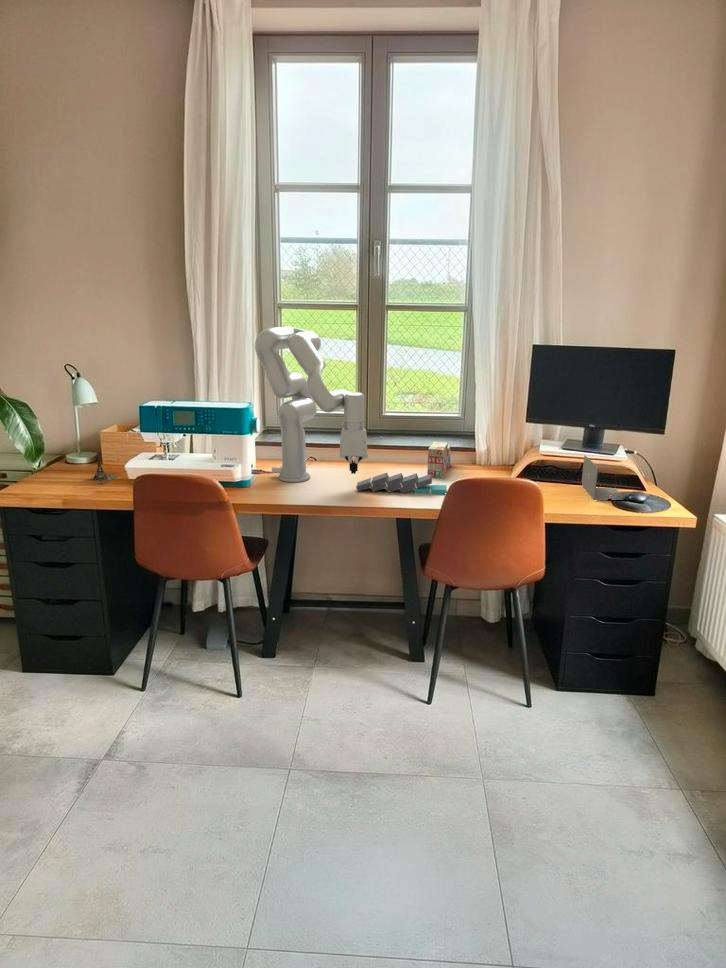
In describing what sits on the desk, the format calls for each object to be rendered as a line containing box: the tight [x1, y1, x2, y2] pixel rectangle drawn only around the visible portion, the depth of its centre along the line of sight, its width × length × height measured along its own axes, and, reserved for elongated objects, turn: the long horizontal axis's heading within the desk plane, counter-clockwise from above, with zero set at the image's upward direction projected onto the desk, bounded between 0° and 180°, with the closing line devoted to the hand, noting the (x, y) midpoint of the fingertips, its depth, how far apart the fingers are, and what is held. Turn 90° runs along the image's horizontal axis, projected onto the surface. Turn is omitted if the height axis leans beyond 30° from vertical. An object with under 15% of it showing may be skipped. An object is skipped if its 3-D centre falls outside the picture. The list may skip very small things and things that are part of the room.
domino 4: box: [399, 474, 433, 494], centre depth 251 cm, size 2×6×12 cm
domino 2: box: [370, 472, 404, 493], centre depth 252 cm, size 2×6×12 cm
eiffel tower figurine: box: [92, 447, 120, 486], centre depth 263 cm, size 15×10×13 cm
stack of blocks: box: [427, 441, 451, 479], centre depth 278 cm, size 21×6×12 cm, turn 164°
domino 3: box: [385, 473, 419, 493], centre depth 251 cm, size 2×6×12 cm
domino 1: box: [355, 472, 390, 492], centre depth 253 cm, size 2×6×12 cm
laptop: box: [581, 455, 621, 502], centre depth 249 cm, size 18×12×13 cm
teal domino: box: [413, 484, 448, 496], centre depth 251 cm, size 2×6×12 cm
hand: (353, 472), depth 252 cm, fingers closed
